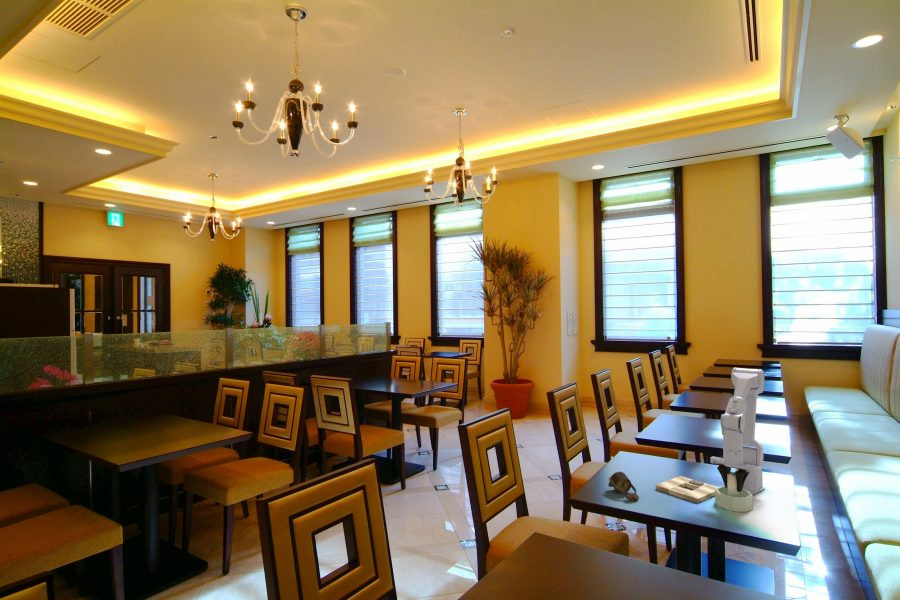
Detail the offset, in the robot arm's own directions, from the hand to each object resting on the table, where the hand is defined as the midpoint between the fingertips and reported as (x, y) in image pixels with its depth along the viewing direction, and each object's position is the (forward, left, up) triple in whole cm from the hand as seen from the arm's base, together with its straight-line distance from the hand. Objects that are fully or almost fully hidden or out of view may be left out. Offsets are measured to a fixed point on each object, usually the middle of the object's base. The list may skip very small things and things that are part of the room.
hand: (733, 489), depth 172 cm
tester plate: (0, -16, -5) cm, 17 cm away
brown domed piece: (+22, -28, -6) cm, 36 cm away
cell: (0, 0, -3) cm, 3 cm away
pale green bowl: (0, 0, -5) cm, 5 cm away
